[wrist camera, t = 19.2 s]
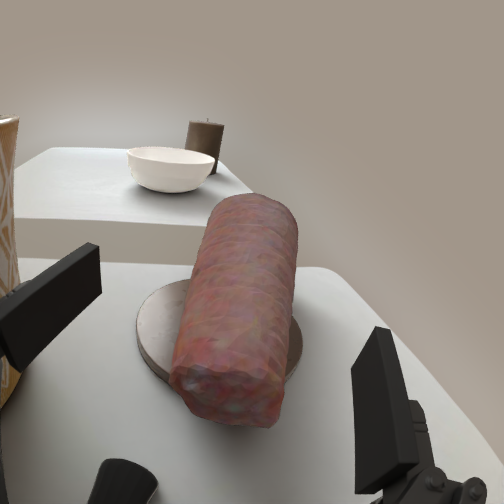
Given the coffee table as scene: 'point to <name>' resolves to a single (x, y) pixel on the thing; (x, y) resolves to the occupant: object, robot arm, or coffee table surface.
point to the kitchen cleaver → (123, 483)
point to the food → (238, 314)
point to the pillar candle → (205, 139)
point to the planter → (7, 233)
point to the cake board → (168, 323)
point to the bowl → (169, 168)
